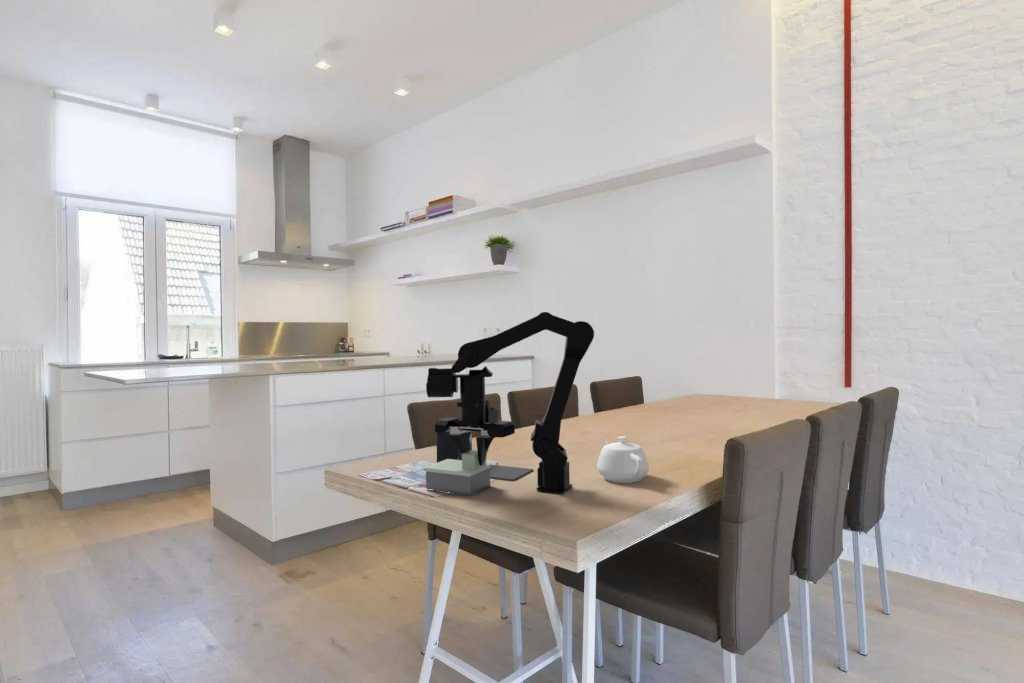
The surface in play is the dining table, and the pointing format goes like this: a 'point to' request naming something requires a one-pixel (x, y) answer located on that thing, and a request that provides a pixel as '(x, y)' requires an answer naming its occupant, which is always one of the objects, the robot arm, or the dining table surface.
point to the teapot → (622, 462)
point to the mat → (508, 472)
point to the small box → (448, 447)
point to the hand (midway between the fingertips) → (474, 464)
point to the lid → (460, 465)
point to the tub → (458, 482)
